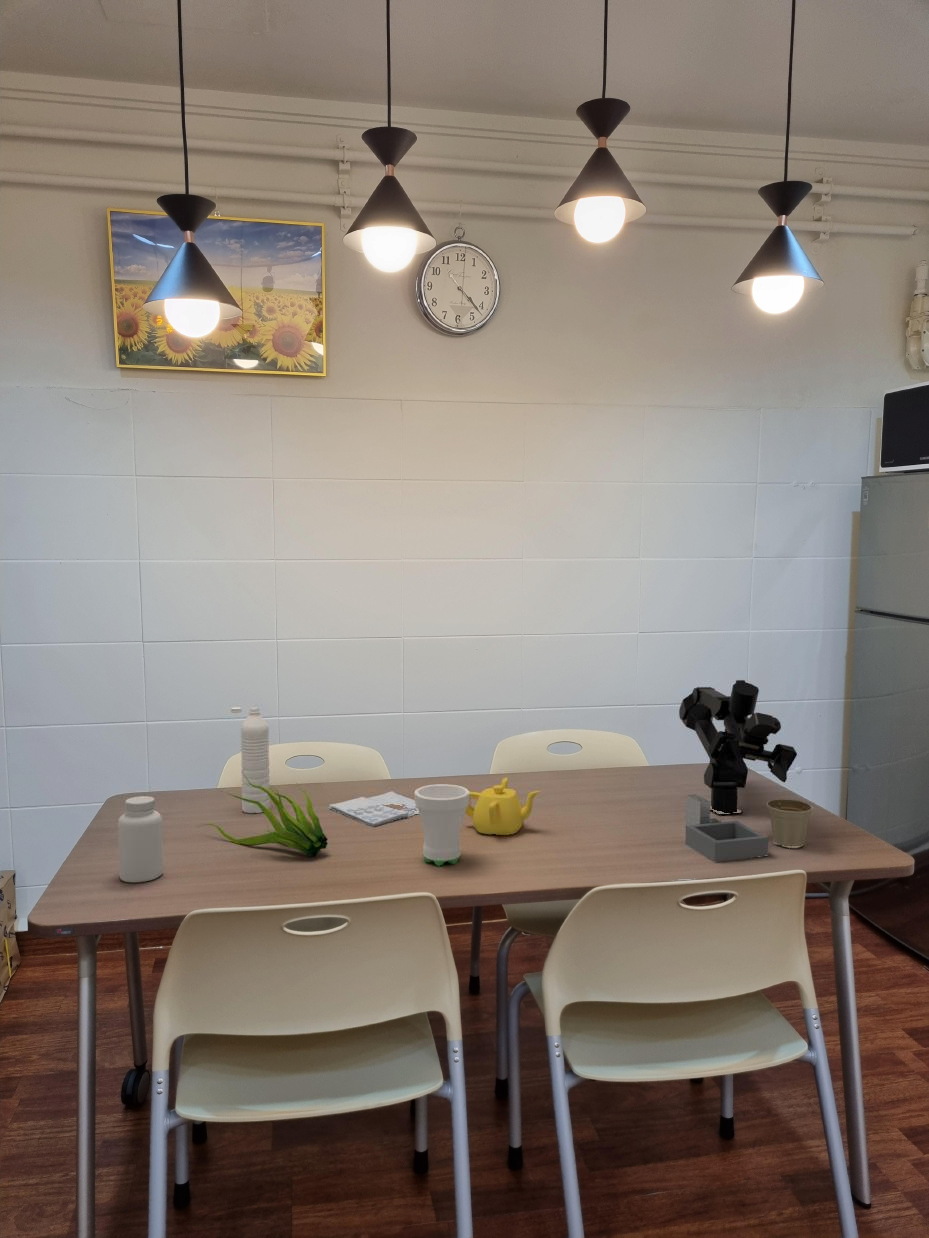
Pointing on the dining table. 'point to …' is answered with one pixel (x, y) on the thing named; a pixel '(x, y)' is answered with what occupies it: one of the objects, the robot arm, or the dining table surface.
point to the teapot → (499, 810)
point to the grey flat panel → (376, 808)
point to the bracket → (698, 811)
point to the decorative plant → (286, 826)
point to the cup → (442, 820)
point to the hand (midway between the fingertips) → (765, 776)
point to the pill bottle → (140, 841)
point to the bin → (726, 841)
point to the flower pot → (789, 821)
